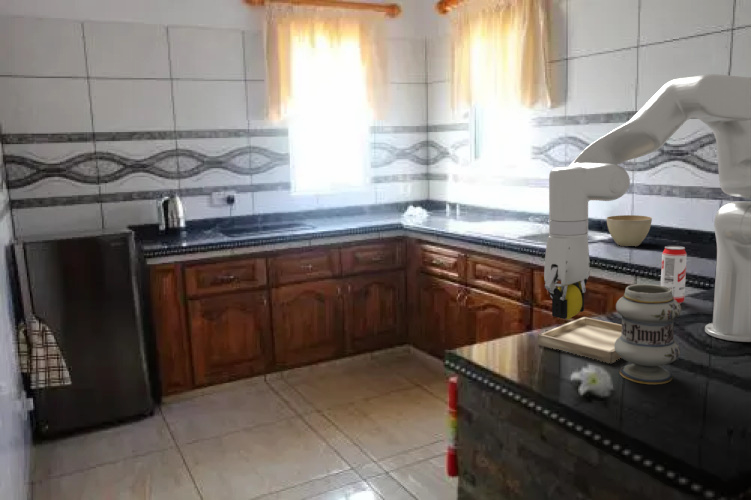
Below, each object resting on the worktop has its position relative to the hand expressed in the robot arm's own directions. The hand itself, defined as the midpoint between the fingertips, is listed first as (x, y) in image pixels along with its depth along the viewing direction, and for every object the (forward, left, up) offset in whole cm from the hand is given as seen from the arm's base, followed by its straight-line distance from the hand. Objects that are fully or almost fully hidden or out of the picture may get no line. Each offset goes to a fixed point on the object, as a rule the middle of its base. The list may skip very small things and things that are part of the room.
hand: (568, 313), depth 129 cm
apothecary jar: (-6, +14, -12) cm, 19 cm away
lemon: (0, 0, -2) cm, 2 cm away
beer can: (-64, -6, -12) cm, 66 cm away
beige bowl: (-145, -60, -12) cm, 158 cm away
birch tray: (-17, -3, -12) cm, 21 cm away
